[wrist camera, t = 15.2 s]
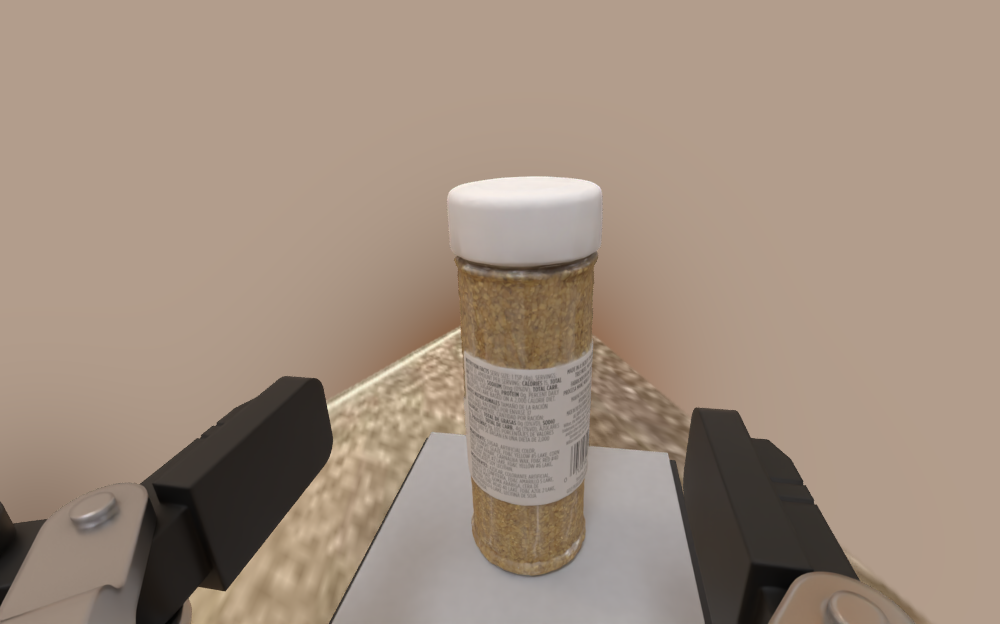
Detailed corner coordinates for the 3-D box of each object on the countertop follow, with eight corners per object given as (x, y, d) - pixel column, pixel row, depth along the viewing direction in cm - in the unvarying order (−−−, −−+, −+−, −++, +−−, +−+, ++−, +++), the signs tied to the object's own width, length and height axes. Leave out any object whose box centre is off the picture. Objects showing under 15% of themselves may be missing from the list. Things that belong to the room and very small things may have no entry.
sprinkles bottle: (514, 476, 22) (507, 172, 17) (606, 521, 19) (630, 177, 14) (446, 542, 18) (412, 187, 13) (546, 608, 16) (550, 197, 11)
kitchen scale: (670, 489, 25) (676, 441, 24) (741, 845, 13) (761, 782, 12) (432, 464, 27) (427, 420, 26) (300, 746, 15) (280, 685, 14)
